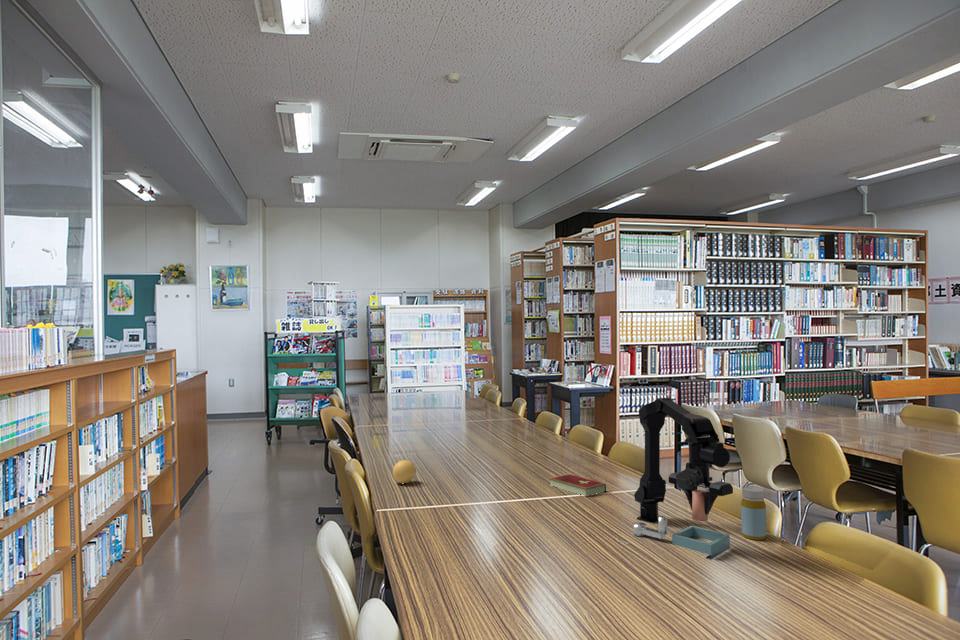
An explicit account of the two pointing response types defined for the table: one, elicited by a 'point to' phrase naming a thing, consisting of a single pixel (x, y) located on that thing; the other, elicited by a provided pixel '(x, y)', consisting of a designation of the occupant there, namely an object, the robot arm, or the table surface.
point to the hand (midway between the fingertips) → (700, 512)
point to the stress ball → (404, 471)
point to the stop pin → (698, 506)
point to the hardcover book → (577, 484)
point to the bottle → (753, 513)
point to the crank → (642, 530)
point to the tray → (713, 549)
